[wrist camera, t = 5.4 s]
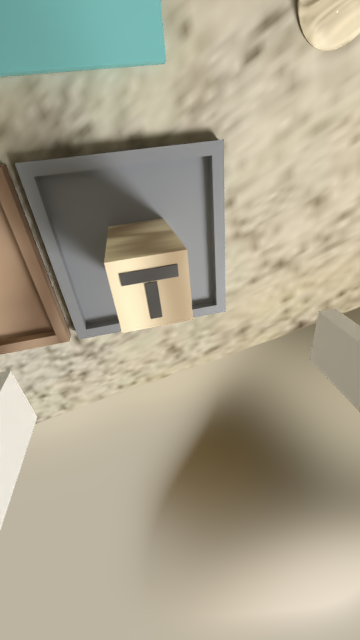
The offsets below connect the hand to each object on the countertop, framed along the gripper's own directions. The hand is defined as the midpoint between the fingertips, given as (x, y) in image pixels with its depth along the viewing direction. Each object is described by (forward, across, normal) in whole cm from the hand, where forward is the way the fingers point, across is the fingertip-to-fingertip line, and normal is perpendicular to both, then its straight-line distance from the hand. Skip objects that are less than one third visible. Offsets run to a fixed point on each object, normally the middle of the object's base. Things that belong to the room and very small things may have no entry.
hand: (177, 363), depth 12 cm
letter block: (+17, 0, 0) cm, 17 cm away
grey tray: (+17, 0, 0) cm, 17 cm away
